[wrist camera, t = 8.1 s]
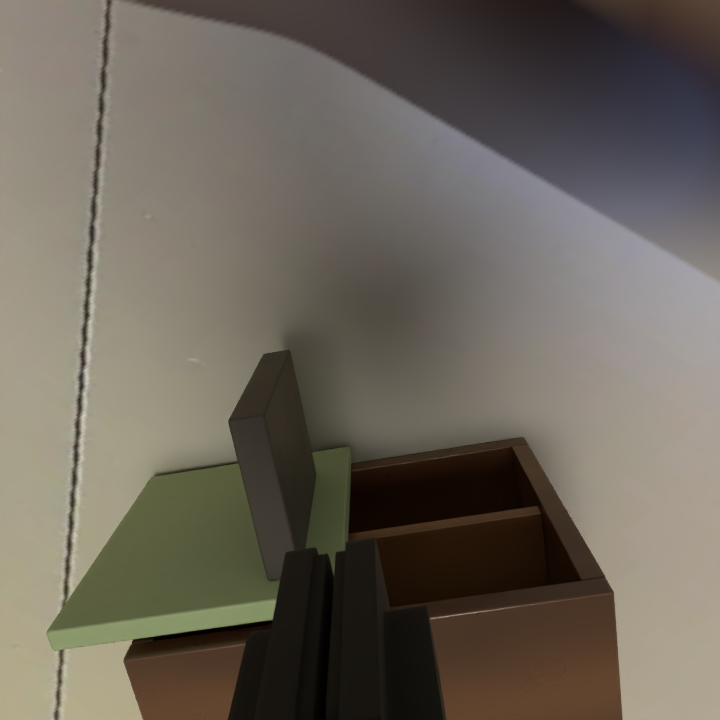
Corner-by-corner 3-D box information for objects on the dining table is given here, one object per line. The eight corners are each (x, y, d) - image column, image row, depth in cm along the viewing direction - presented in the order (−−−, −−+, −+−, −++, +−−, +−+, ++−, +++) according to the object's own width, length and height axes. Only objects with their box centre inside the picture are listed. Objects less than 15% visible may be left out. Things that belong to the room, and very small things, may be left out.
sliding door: (117, 362, 30) (-17, 470, 20) (326, 328, 30) (305, 419, 19) (155, 490, 32) (52, 652, 22) (351, 460, 32) (345, 610, 21)
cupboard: (206, 485, 33) (121, 660, 21) (524, 436, 32) (614, 591, 20) (257, 676, 36) (208, 916, 25) (545, 637, 35) (633, 867, 24)
